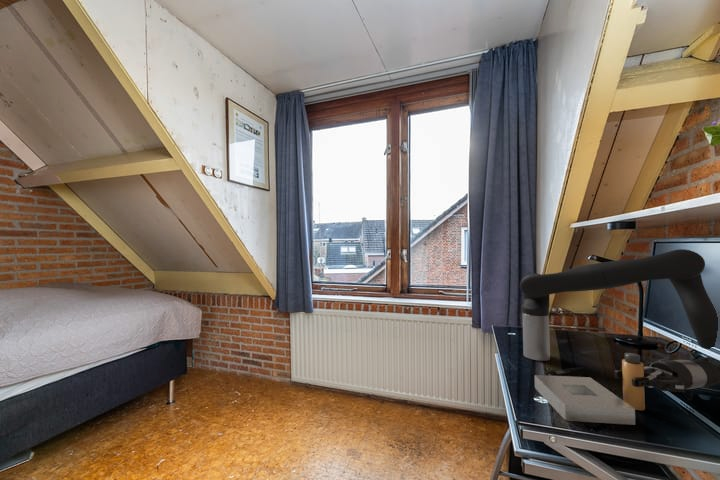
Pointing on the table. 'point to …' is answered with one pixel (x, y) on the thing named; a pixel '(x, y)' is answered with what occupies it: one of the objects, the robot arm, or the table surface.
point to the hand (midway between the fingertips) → (624, 378)
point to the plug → (629, 371)
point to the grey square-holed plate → (584, 400)
